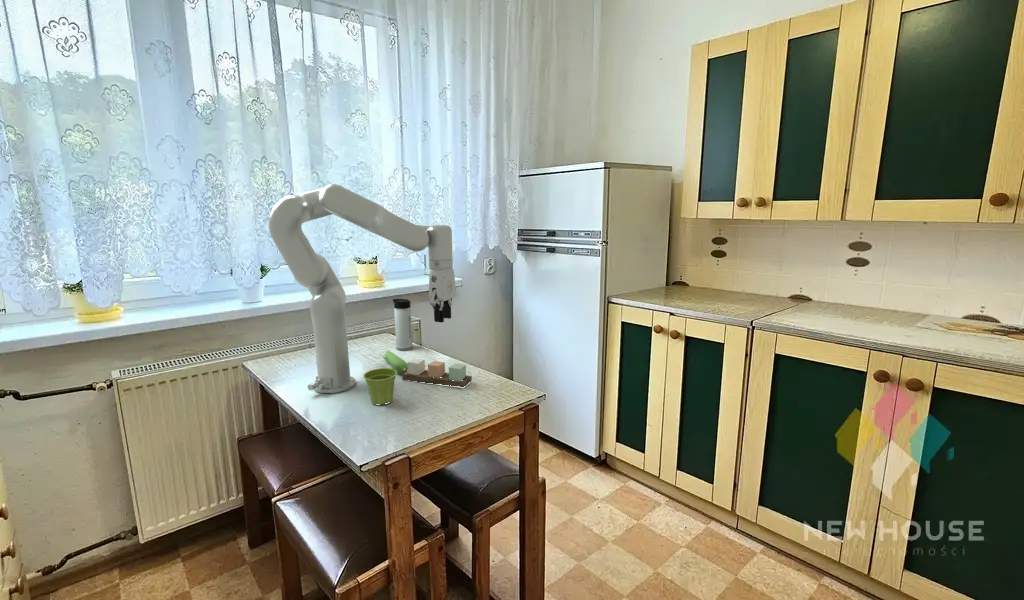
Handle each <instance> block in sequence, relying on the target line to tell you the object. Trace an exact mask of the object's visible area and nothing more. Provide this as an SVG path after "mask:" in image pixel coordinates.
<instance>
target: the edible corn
mask: <svg viewBox="0 0 1024 600" xmlns="http://www.w3.org/2000/svg"><path fill="white" fill-rule="evenodd" d="M382 358H383V360H384V361H386V362H387V364H388V365H389V366H390V367H391V369H394V370H396V371H397V374H398V375H401V376H402V374H404V373H405V372H407V371H408V364H407V361H406V360H404V359H403V358H401V357H400V356H398V355H396V354H395V353H394V352H392V351H390V350H386V352H385V353H384V355H383V356H382Z"/></svg>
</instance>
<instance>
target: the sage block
mask: <svg viewBox="0 0 1024 600" xmlns="http://www.w3.org/2000/svg"><path fill="white" fill-rule="evenodd" d="M448 373H449V380H454V381H455V380H456V381H459V382H462V381H461V380H463V379H464V378H465V377H466V376H467V366H466V364H463V363H462V364H461V363H453V364H452V365H450V366H449V367H448Z"/></svg>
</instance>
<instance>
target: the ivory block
mask: <svg viewBox="0 0 1024 600" xmlns="http://www.w3.org/2000/svg"><path fill="white" fill-rule="evenodd" d="M425 362H426V361H425V359H421V358H411V359H410V360H409V361H406V363H407V364H408V370H407V371H408V374H413V375H416V376H419V375H420V374H421V373H423V372H424V371H425V370H426V365H425Z"/></svg>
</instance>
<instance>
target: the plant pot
mask: <svg viewBox="0 0 1024 600" xmlns="http://www.w3.org/2000/svg"><path fill="white" fill-rule="evenodd" d="M362 377H363V379H365V382H366V385H367V389H368V393H369V397H370V402H371V404H372V403H374V404H382V405H383V404H385V403H388V402H391V401H392V400H393V401H394V391H395V380H396V377H397V371H396V370H394V369H393V368H389V367H388V368H387V367H383V368H375V369H371V370H369V371H366V372H364V373H363V376H362ZM393 401H392V402H393ZM392 402H391V403H392ZM374 404H373V405H374Z"/></svg>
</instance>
